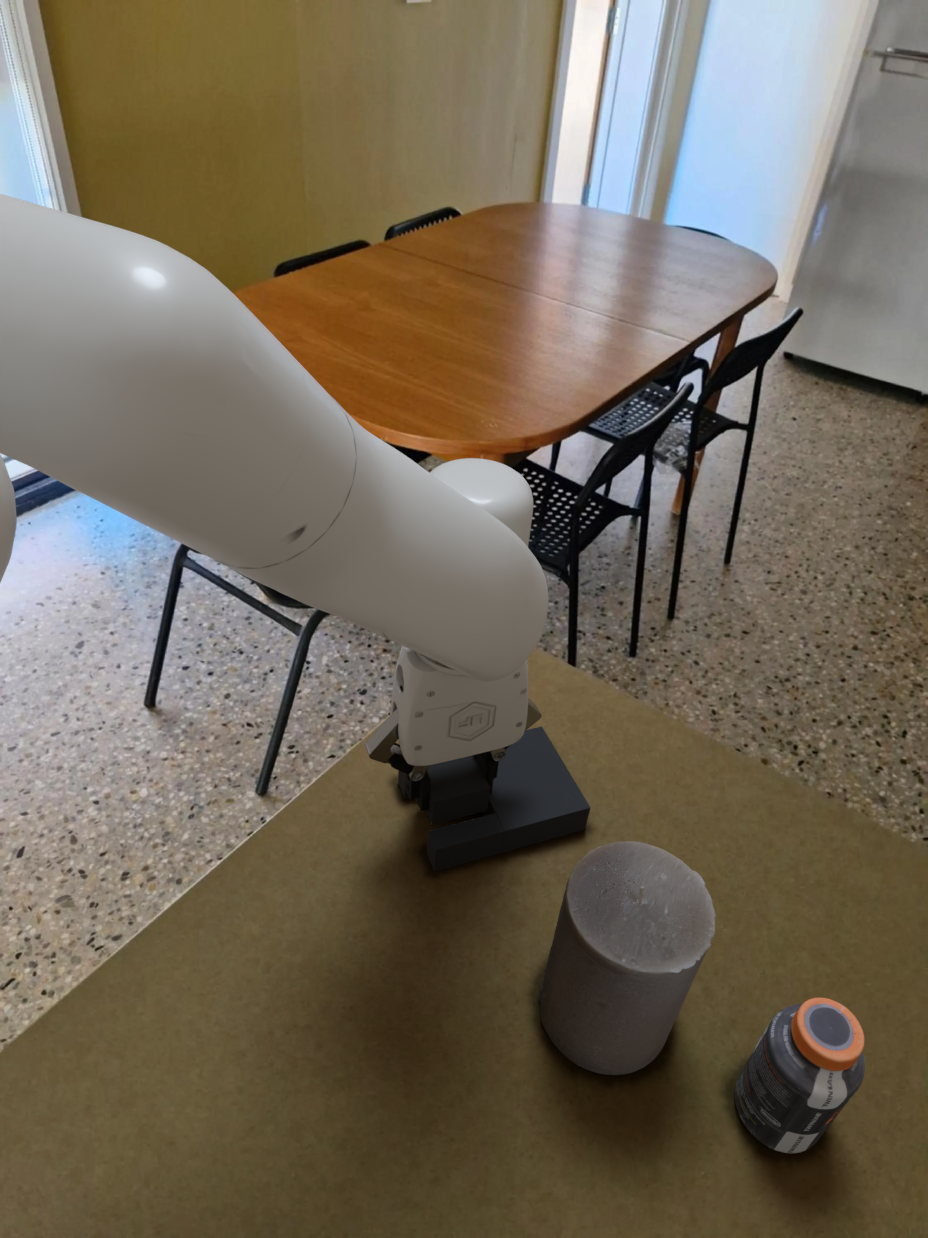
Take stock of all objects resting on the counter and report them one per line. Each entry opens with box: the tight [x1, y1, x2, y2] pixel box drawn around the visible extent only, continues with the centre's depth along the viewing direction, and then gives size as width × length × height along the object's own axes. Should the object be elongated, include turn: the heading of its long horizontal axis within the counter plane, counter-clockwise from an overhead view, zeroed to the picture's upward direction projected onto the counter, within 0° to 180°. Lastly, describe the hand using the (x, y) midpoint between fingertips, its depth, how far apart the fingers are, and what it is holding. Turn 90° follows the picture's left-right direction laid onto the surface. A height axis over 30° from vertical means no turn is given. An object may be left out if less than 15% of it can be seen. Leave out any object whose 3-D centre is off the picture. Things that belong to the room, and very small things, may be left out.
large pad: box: [397, 726, 591, 872], centre depth 78 cm, size 14×10×3 cm
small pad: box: [425, 755, 490, 826], centre depth 75 cm, size 5×5×3 cm
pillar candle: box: [537, 840, 717, 1076], centre depth 60 cm, size 10×10×15 cm
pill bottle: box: [734, 997, 866, 1154], centre depth 57 cm, size 6×6×11 cm
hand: (450, 789), depth 75 cm, fingers closed on small pad, 5 cm apart
